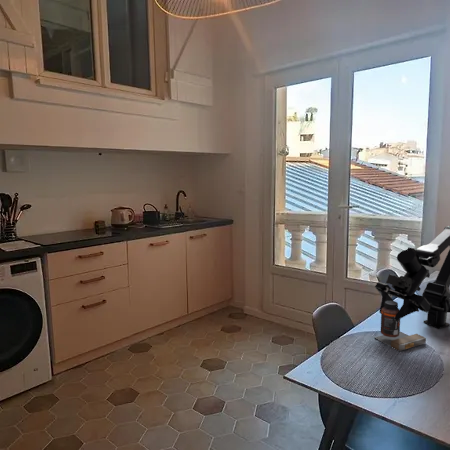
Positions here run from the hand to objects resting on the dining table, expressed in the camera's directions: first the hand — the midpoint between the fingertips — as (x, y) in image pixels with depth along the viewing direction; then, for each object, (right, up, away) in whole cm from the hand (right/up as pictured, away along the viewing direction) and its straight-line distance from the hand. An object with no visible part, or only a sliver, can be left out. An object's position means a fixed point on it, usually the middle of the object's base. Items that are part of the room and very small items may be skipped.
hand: (387, 316), depth 126 cm
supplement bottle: (+1, -7, +2) cm, 7 cm away
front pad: (+4, -9, +3) cm, 10 cm away
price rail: (+6, -9, -1) cm, 11 cm away
